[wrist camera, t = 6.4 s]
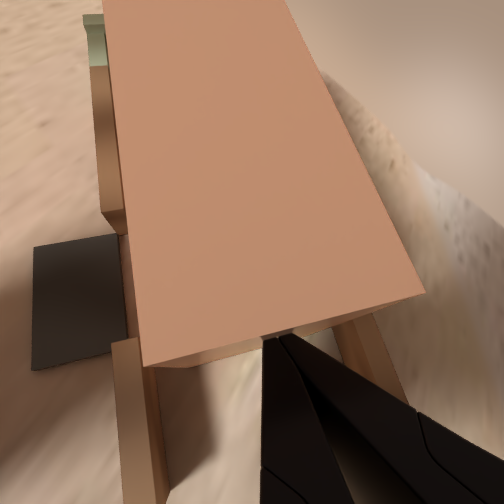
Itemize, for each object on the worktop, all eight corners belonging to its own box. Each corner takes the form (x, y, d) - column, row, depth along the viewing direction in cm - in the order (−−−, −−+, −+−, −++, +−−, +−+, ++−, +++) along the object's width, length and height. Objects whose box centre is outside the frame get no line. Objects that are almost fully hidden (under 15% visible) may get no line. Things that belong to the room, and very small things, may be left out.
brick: (307, 335, 14) (426, 292, 6) (189, 367, 13) (143, 366, 5) (238, 119, 20) (253, -63, 11) (149, 128, 18) (94, -68, 10)
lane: (452, 391, 14) (508, 397, 11) (33, 540, 10) (-32, 600, 8) (295, 51, 23) (306, 9, 20) (39, 66, 19) (9, 16, 17)
